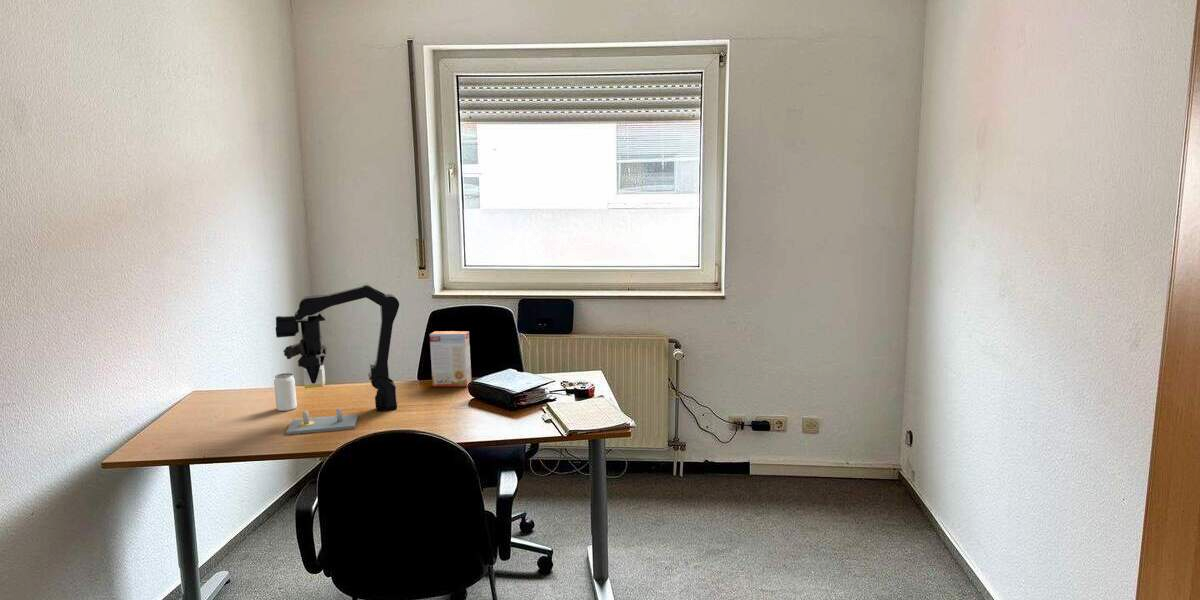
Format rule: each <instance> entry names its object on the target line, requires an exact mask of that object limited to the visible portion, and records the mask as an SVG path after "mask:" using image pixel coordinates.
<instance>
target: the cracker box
mask: <svg viewBox="0 0 1200 600" xmlns="http://www.w3.org/2000/svg"><path fill="white" fill-rule="evenodd" d="M429 347H430V348H429V349H430V361H431V363H430V364H431V380H432V386H433V387H461V388H462V387H463V388H465V387H468V386H469V385H470V384H469V383H470V382H471V381H472V367H471V366H472V364H471V345H470V331H466V330H465V331H464V330H463V331H462V330H461V331H459V330H457V331H456V330H455V331H454V330H449V331H448V330H446V331H445V330H444V331H443V330H442V331H441V330H439V331H438V330H435V331H433V332H431V333H429ZM468 384H469V385H468Z"/></svg>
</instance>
